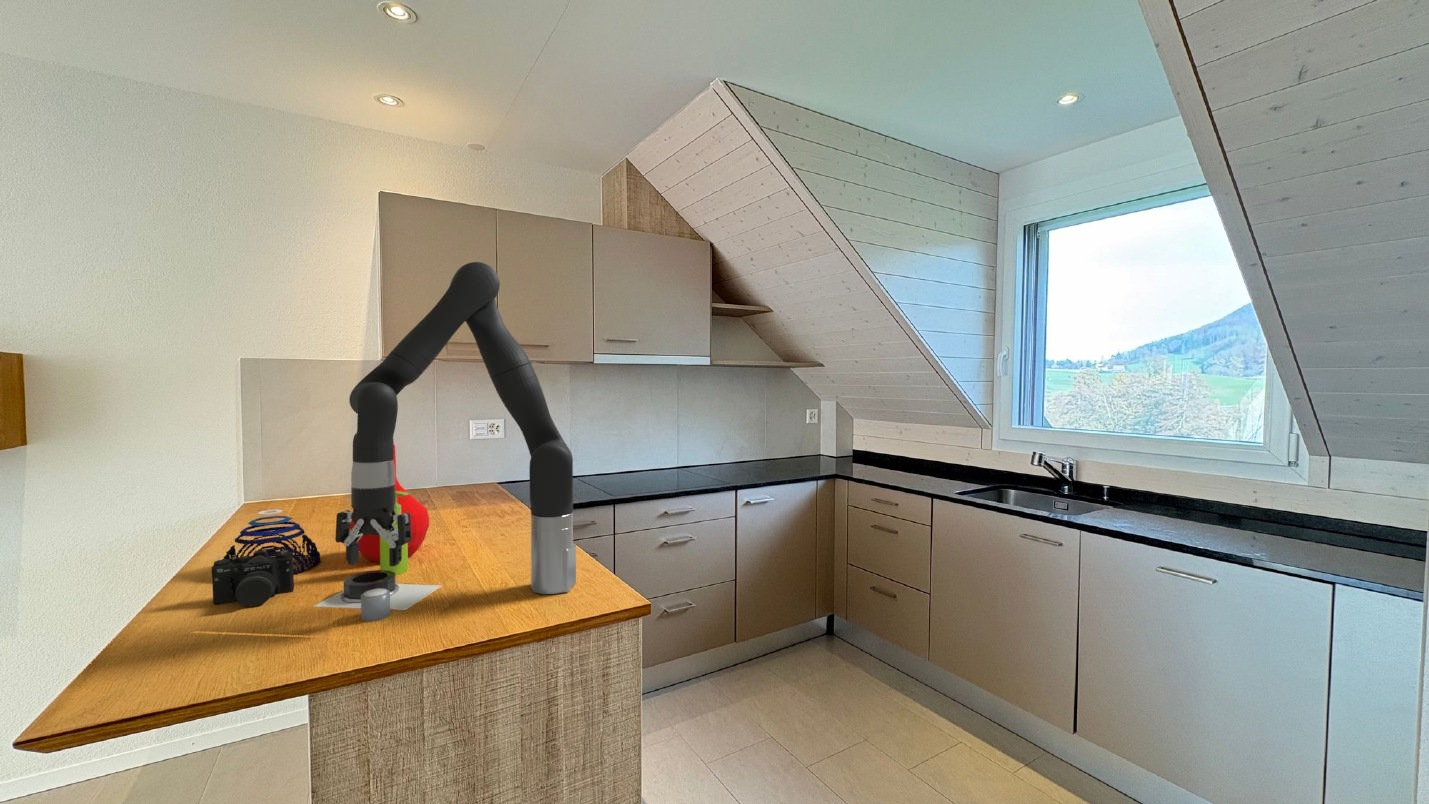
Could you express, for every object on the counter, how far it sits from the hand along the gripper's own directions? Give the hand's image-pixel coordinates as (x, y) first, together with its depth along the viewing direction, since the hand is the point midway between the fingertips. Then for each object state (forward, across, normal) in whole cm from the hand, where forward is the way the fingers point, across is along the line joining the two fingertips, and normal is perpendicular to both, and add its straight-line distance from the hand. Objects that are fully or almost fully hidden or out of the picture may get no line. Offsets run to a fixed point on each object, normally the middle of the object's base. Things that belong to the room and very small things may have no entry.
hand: (373, 564), depth 116 cm
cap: (+11, 0, 0) cm, 11 cm away
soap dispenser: (+11, +12, -25) cm, 30 cm away
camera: (+12, +31, -5) cm, 34 cm away
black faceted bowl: (+10, +9, -11) cm, 18 cm away
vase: (+11, +21, -37) cm, 44 cm away
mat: (+11, +6, -10) cm, 16 cm away
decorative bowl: (+12, +44, -26) cm, 53 cm away
